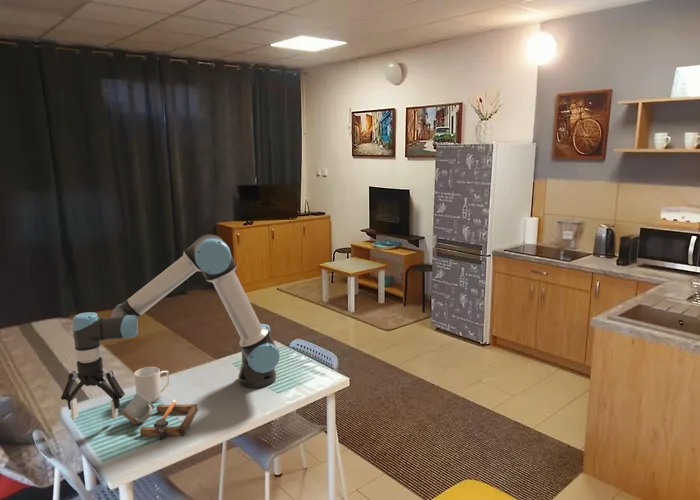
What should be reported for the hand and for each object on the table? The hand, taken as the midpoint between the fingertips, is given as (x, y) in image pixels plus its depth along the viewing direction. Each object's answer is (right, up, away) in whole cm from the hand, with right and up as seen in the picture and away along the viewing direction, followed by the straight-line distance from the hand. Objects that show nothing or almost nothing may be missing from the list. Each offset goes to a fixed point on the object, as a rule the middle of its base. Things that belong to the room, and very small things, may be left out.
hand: (95, 417), depth 167 cm
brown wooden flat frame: (+25, -2, +1) cm, 26 cm away
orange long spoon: (+26, +2, -3) cm, 26 cm away
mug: (+12, +1, +19) cm, 23 cm away
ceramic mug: (+15, -3, +1) cm, 16 cm away
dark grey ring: (+26, -4, -8) cm, 28 cm away
